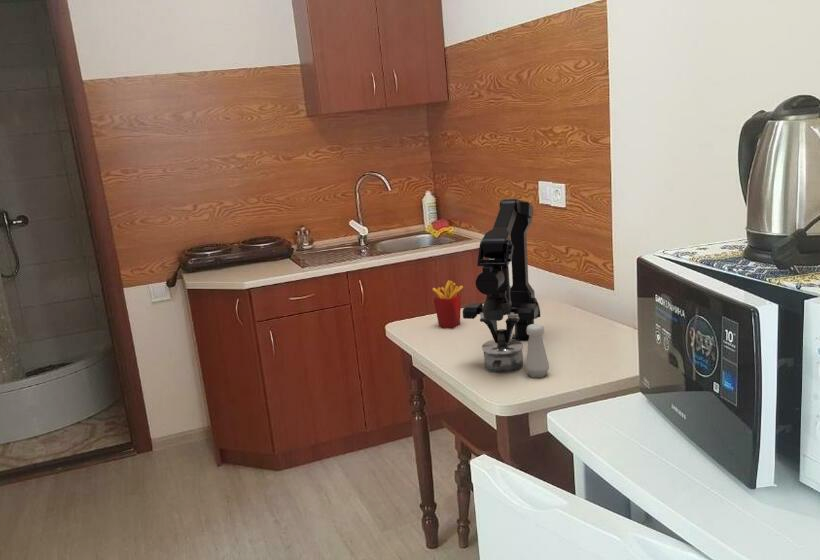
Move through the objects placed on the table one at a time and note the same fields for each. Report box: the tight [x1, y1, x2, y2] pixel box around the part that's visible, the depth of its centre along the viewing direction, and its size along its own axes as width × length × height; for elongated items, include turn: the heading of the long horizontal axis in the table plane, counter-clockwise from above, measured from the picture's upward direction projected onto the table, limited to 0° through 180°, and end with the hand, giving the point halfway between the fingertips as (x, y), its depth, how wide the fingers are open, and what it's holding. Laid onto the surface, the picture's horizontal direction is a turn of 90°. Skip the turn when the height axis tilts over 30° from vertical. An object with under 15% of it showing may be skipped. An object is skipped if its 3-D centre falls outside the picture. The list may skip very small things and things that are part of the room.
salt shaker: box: [525, 323, 550, 378], centre depth 179 cm, size 6×6×13 cm
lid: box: [481, 328, 524, 355], centre depth 187 cm, size 11×11×5 cm
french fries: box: [431, 279, 464, 329], centre depth 227 cm, size 9×8×15 cm
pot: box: [483, 349, 524, 374], centre depth 188 cm, size 15×10×4 cm, turn 158°
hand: (502, 342), depth 187 cm, fingers closed on lid, 3 cm apart
